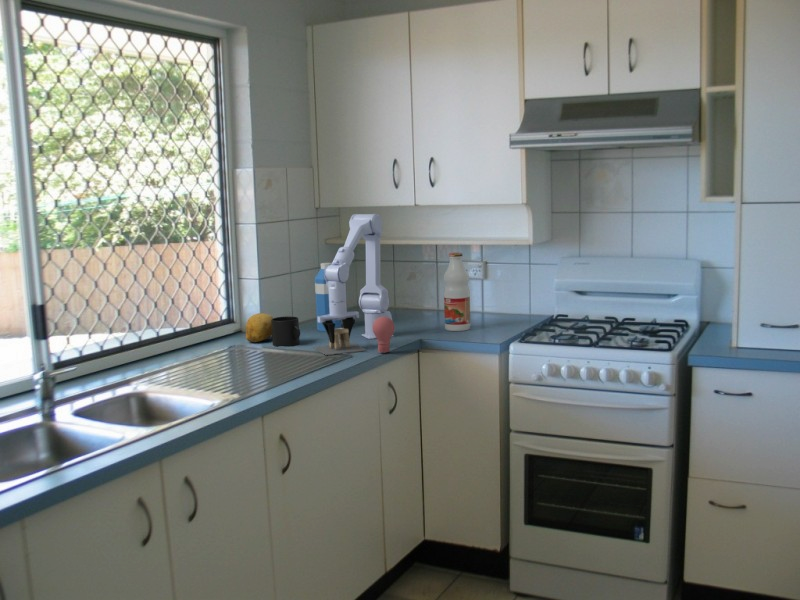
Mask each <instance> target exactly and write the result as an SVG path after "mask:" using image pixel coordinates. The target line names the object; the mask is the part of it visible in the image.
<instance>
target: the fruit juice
mask: <svg viewBox="0 0 800 600" xmlns="http://www.w3.org/2000/svg"><path fill="white" fill-rule="evenodd" d="M448 258H449V262H448V263H449V264H448V266H447V269H446V271H445V272H444V275H443V281H444V284H445V285H444V290H443V307H444V309H443V310H444V328H445V330H446V331H450V332H463V331H468V330H470V329H471V302H470V301H471V299H470V297H471V295H470V287H469V286H468V285H469V284H468V283H469V280H470V277H469V273H468V271H467V270H466V268H465V266H464V263H463V253H462V252H449V253H448Z"/></svg>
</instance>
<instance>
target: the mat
mask: <svg viewBox="0 0 800 600" xmlns="http://www.w3.org/2000/svg"><path fill="white" fill-rule="evenodd" d="M349 344H350V347H345V346H340V343H339V349H335V347H333V348H330V345H329V344H328V345H319V346H313V349H314V350H316V351H318V352H319V353H320V354H322V353H323V354H322V355H324V354H325V355H330V356H333V355H332V354H338V355H344V354H343V353H347V354H354V353H362V352H363V353H364V352H367V351H368V350H367V349H366V348H364V347H362V346H360V345H359V344H356V343H354V342H349ZM325 355H324V356H325Z"/></svg>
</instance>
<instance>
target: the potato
mask: <svg viewBox="0 0 800 600" xmlns="http://www.w3.org/2000/svg"><path fill="white" fill-rule="evenodd" d="M273 318H274V317H273V316H272V315H271V314H267V313H264V312H258V313H255V314H252V315H250V317H249V318H248V319H247V321H246V324H245V339H246V340H247V341H248V342H250V343H259V342H263V341H264V340H267V339H269V338H270V337H272V327H271V319H273Z"/></svg>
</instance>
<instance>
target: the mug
mask: <svg viewBox="0 0 800 600" xmlns="http://www.w3.org/2000/svg"><path fill="white" fill-rule="evenodd" d="M271 327H272V335H271V337H272V338H271V339H272V340H271V341H272V346H274V347H278V346H288V347H293V346H294V345H295V346H297V345H299V344H301V342H300V340H301V339H300V337H301V330H300V321H299V317H297V316H290V315H289V316H288V315H287V316H286V315H285V316H278V317H273V319H271Z"/></svg>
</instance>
